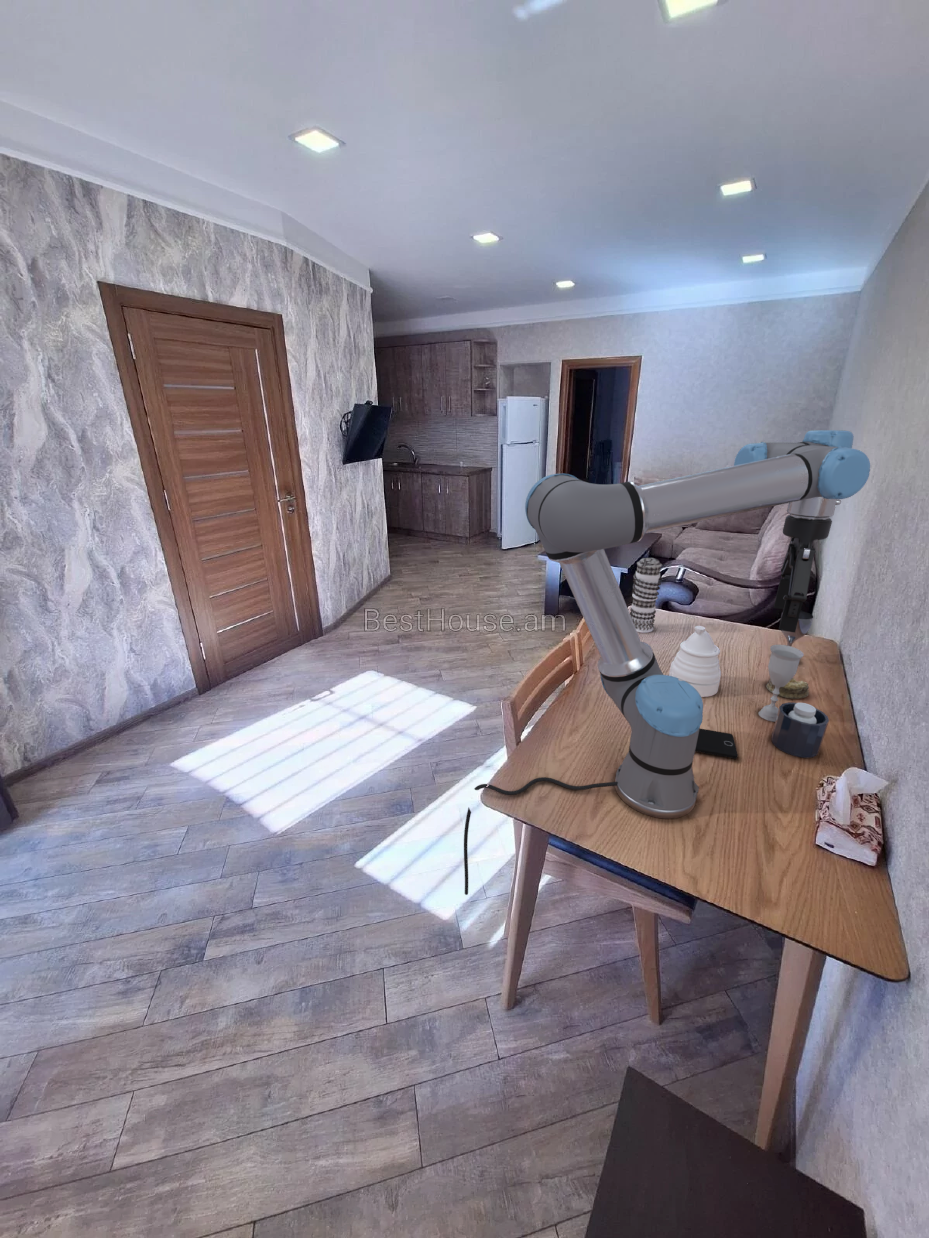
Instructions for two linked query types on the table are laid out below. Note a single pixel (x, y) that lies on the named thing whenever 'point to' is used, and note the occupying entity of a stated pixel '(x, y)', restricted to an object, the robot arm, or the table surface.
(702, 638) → the honey pot
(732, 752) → the cell phone
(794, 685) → the cake
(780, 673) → the chalice
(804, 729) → the cup
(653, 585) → the decorative candle
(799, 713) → the supplement bottle
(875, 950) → the table surface
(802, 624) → the wine glass
